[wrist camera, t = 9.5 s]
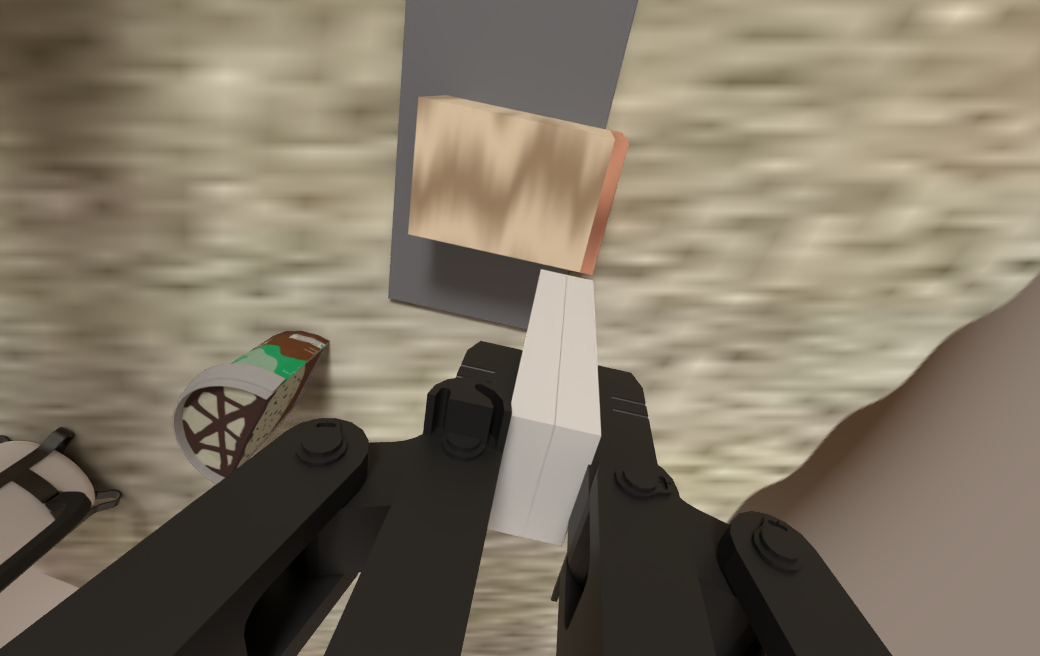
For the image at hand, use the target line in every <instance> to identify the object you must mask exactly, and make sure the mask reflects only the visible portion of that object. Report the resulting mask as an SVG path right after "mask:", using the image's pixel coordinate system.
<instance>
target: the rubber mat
mask: <svg viewBox="0 0 1040 656" xmlns="http://www.w3.org/2000/svg"><path fill="white" fill-rule="evenodd" d="M636 4H637V0H406V9H405V26H404V43H403V60H402V77H401V93H400V110H399V127H398V144H397V161H396V178H395V194H394V211H393V228H392V245H391V262H390V279H389V295H388V298H390V299H394V300H399V301H403V302H408V303H412V304H416V305H421V306H425V307H430V308H434V309H438V310H443V311H447V312H452V313H456V314H461V315H465V316H469V317H474V318H478V319H483V320H487V321H491V322H496V323H500V324H505V325H509V326H514V327H518V328H522V329H527V330H528V325H529V321H530V316H531V312H532V307H533V303H534V298H535V294H536V289H537V285H538V280H539V276H540V271H541V269H542V270H547V271H551V272H556V273H560V274H565V275H568V273H569V270H567V269H562V268H558V267H553V266H549V265H544V264H540V263H536V262H531V261H527V260H522V259H518V258H513V257H509V256H504V255H500V254H495V253H491V252H486V251H482V250H477V249H473V248H468V247H464V246H459V245H455V244H450V243H446V242H441V241H437V240H432V239H428V238H423V237H419V236H414V235H410V234H408V229H409V216H410V202H411V189H412V176H413V163H414V150H415V136H416V123H417V110H418V97H424V96H443V95H448V96H452V97H457V98H462V99H466V100H471V101H476V102H480V103H485V104H490V105H494V106H499V107H504V108H508V109H513V110H517V111H522V112H527V113H531V114H536V115H541V116H545V117H550V118H555V119H559V120H564V121H569V122H573V123H578V124H583V125H587V126H592V127H597V128H601V129H605V127H606V123H607V119H608V115H609V111H610V107H611V103H612V99H613V95H614V91H615V87H616V83H617V79H618V75H619V71H620V68H621V64H622V60H623V56H624V52H625V48H626V44H627V40H628V36H629V32H630V28H631V24H632V20H633V16H634V12H635V8H636Z"/></svg>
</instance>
